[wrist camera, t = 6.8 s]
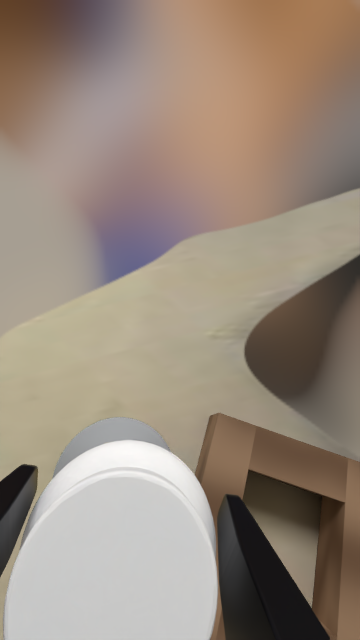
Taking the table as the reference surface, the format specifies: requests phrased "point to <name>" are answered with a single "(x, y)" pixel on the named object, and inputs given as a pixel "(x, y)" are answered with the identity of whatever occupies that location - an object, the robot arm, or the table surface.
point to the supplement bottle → (116, 552)
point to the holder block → (305, 473)
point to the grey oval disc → (108, 437)
